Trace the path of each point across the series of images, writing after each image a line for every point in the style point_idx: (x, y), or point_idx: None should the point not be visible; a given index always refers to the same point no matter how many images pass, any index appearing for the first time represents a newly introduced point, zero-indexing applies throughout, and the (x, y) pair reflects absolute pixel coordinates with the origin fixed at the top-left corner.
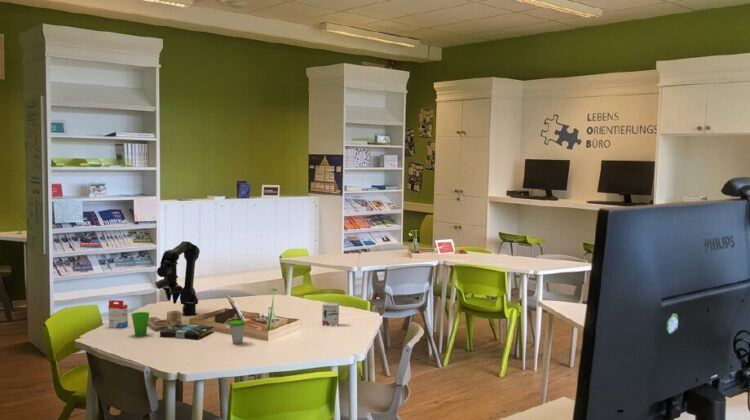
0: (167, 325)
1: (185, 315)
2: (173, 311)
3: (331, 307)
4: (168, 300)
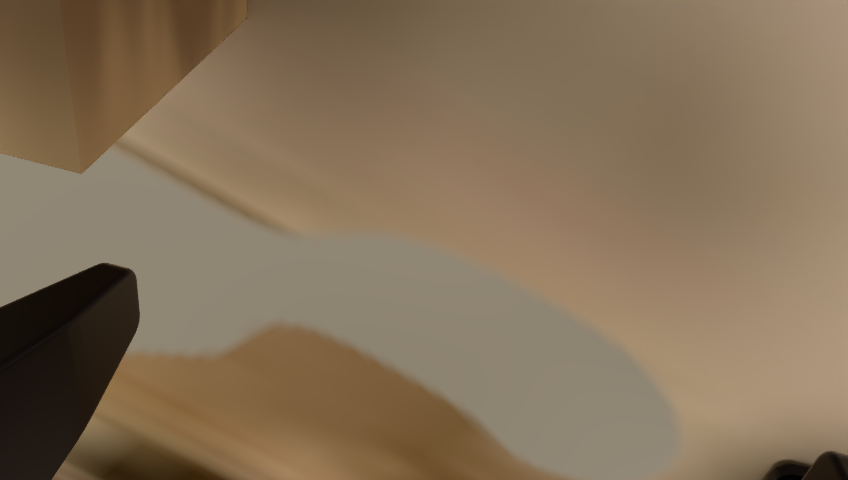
0: None
1: (799, 468)
2: (6, 9)
3: None
4: (820, 462)
